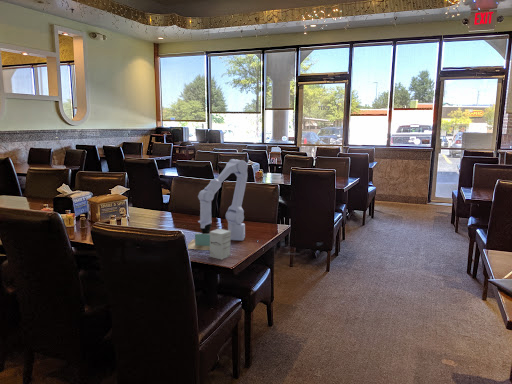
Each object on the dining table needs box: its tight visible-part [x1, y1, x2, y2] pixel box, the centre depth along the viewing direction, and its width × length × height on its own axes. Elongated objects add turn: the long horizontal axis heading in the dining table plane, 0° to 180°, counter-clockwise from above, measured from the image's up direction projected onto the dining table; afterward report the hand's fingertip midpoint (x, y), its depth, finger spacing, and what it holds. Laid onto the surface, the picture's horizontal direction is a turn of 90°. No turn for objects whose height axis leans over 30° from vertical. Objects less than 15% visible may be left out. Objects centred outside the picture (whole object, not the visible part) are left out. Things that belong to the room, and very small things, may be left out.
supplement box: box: [209, 228, 231, 260], centre depth 178 cm, size 7×7×13 cm
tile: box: [194, 232, 210, 246], centre depth 194 cm, size 10×2×6 cm, turn 84°
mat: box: [187, 238, 210, 252], centre depth 196 cm, size 16×16×1 cm
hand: (205, 238), depth 197 cm, fingers closed
